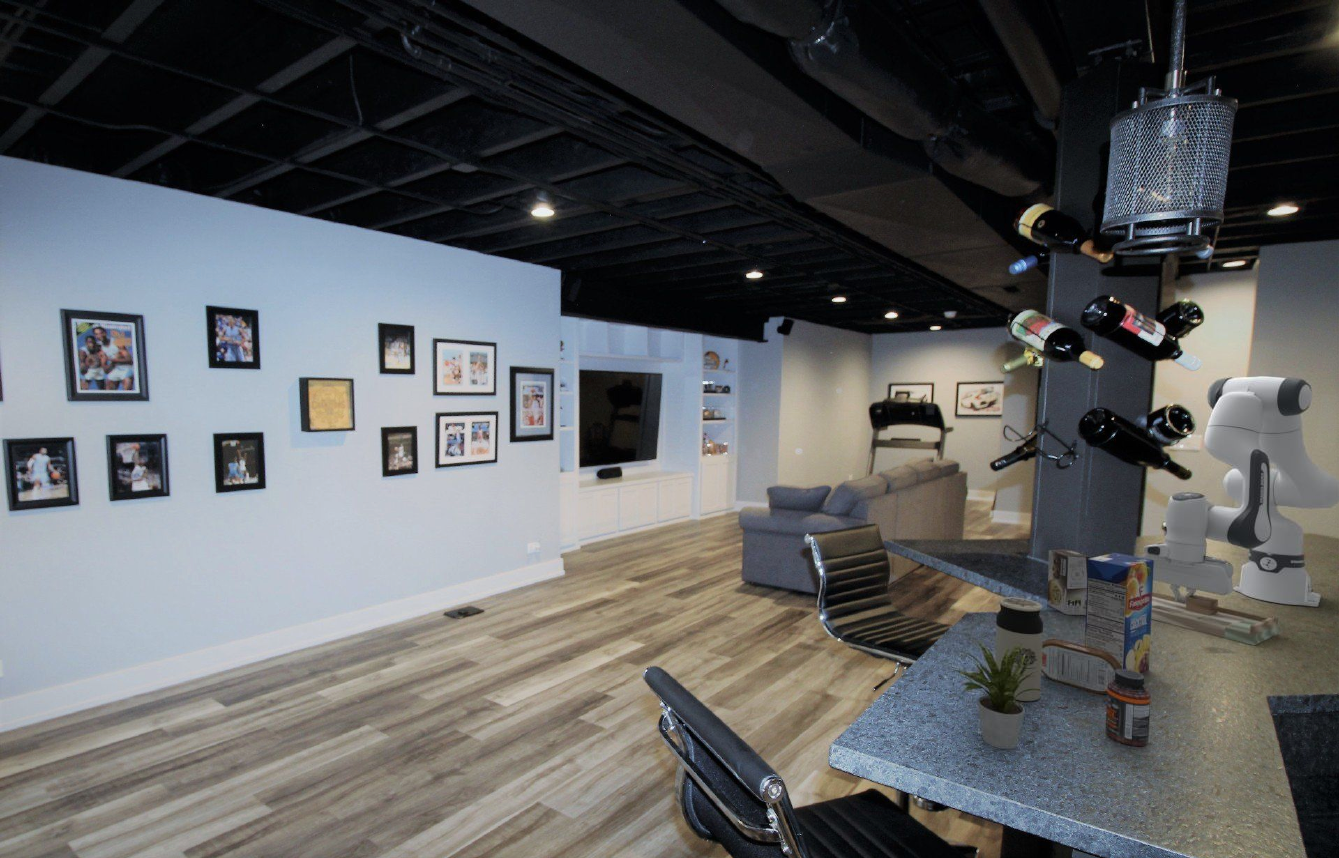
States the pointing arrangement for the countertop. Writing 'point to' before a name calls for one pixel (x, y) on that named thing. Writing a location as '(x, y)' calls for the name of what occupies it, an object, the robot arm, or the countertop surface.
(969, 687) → the house plant
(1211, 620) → the box
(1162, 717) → the countertop surface
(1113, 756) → the countertop surface
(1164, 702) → the countertop surface
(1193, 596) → the walnut block
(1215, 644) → the countertop surface
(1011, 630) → the travel mug
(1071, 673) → the tin
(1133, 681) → the supplement bottle
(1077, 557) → the coffee box
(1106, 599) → the juice carton
